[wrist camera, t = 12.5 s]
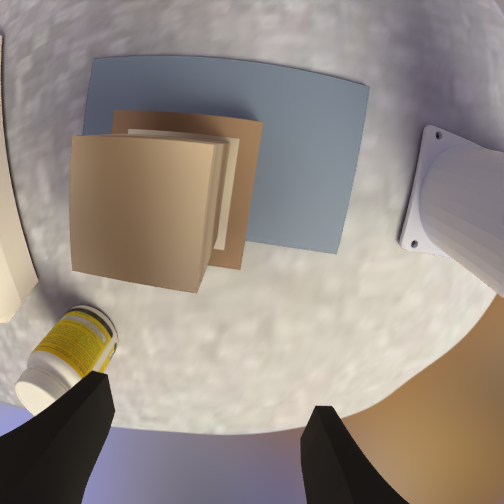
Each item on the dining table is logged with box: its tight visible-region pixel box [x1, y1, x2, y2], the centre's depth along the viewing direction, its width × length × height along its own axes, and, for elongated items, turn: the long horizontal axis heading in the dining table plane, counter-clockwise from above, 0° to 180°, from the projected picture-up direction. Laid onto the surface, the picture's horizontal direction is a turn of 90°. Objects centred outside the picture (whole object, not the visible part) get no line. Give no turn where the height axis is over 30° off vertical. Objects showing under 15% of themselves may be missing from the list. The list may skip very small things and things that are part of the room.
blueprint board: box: [83, 56, 369, 254], centre depth 16 cm, size 16×10×1 cm, turn 81°
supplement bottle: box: [15, 305, 118, 416], centre depth 17 cm, size 5×5×8 cm
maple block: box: [69, 134, 230, 293], centre depth 11 cm, size 4×4×6 cm
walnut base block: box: [112, 110, 263, 270], centre depth 15 cm, size 7×7×3 cm
